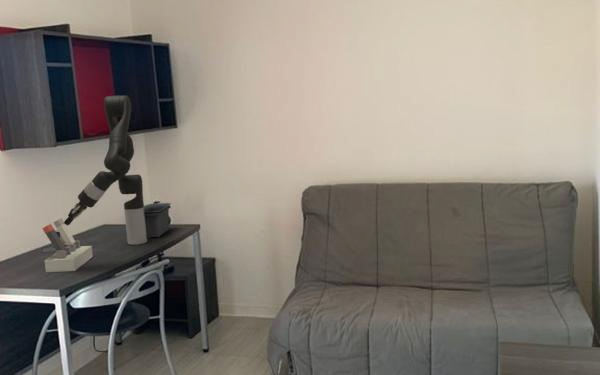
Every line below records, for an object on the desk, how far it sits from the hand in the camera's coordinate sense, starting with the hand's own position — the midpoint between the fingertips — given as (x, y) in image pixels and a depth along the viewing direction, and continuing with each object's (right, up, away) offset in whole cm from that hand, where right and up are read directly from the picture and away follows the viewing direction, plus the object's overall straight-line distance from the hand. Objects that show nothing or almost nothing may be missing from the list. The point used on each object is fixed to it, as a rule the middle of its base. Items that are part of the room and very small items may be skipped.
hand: (66, 223), depth 251 cm
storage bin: (+23, -9, +58) cm, 63 cm away
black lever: (-2, -13, +2) cm, 13 cm away
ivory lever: (-2, -11, +13) cm, 17 cm away
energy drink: (-10, -16, +23) cm, 30 cm away
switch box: (-1, -18, +8) cm, 20 cm away
